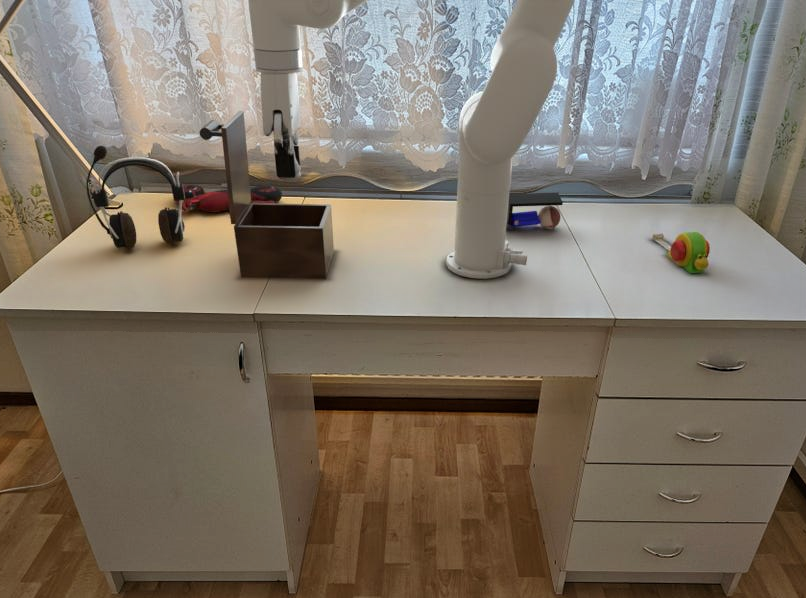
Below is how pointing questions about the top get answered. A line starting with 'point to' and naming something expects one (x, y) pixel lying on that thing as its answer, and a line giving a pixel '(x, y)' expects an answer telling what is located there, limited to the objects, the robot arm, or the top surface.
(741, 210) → the top surface
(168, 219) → the headset
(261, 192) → the toy motorcycle
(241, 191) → the box lid
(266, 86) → the robot arm
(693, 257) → the toy measuring tape
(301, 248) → the toy chest
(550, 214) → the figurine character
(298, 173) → the rook chess piece
